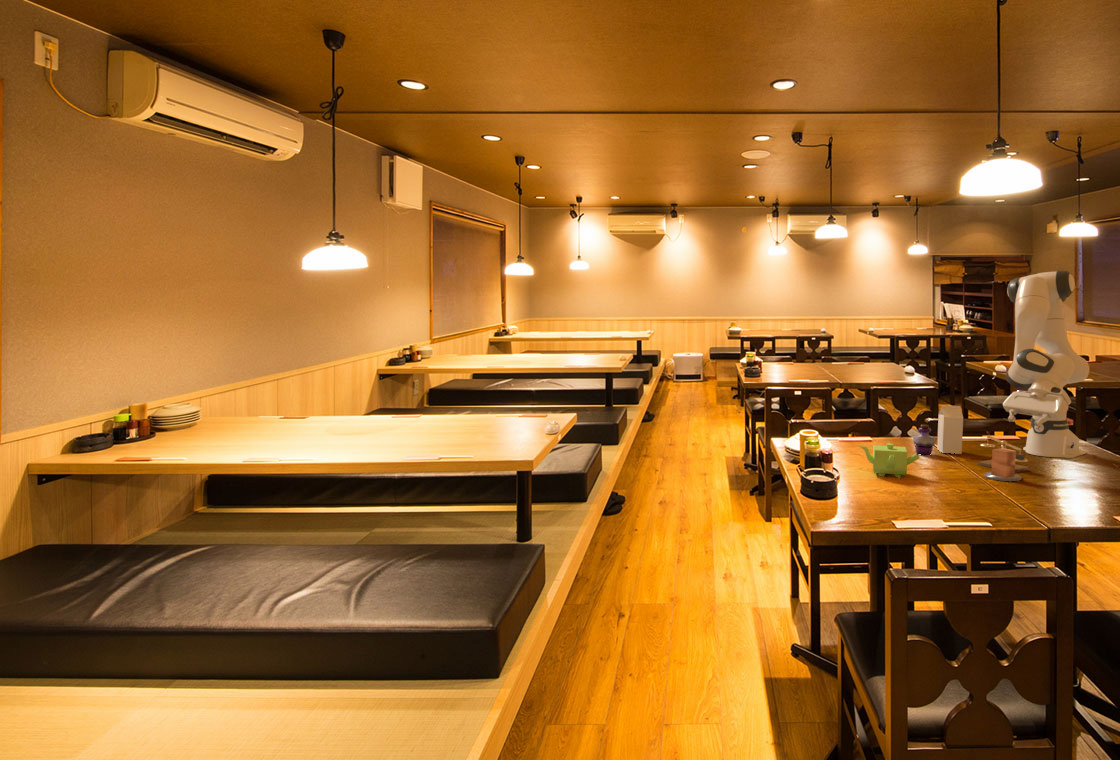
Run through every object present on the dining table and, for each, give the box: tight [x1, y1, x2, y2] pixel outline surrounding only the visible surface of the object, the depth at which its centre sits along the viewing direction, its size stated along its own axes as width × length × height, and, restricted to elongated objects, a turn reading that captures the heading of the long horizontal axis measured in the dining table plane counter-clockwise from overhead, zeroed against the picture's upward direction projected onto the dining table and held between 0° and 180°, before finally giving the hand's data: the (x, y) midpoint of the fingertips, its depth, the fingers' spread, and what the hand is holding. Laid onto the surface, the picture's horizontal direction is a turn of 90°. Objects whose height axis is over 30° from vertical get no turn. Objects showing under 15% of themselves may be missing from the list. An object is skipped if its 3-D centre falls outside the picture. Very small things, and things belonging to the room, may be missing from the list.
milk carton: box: [936, 405, 964, 455], centre depth 295 cm, size 7×7×19 cm
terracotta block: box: [990, 447, 1017, 478], centre depth 254 cm, size 5×5×9 cm
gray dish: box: [984, 471, 1022, 483], centre depth 254 cm, size 11×11×1 cm
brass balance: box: [977, 435, 1029, 473], centre depth 268 cm, size 8×18×11 cm, turn 23°
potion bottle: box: [912, 424, 937, 456], centre depth 292 cm, size 9×9×12 cm
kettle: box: [858, 442, 920, 478], centre depth 261 cm, size 15×14×11 cm
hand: (1023, 422), depth 256 cm, fingers open, 8 cm apart
